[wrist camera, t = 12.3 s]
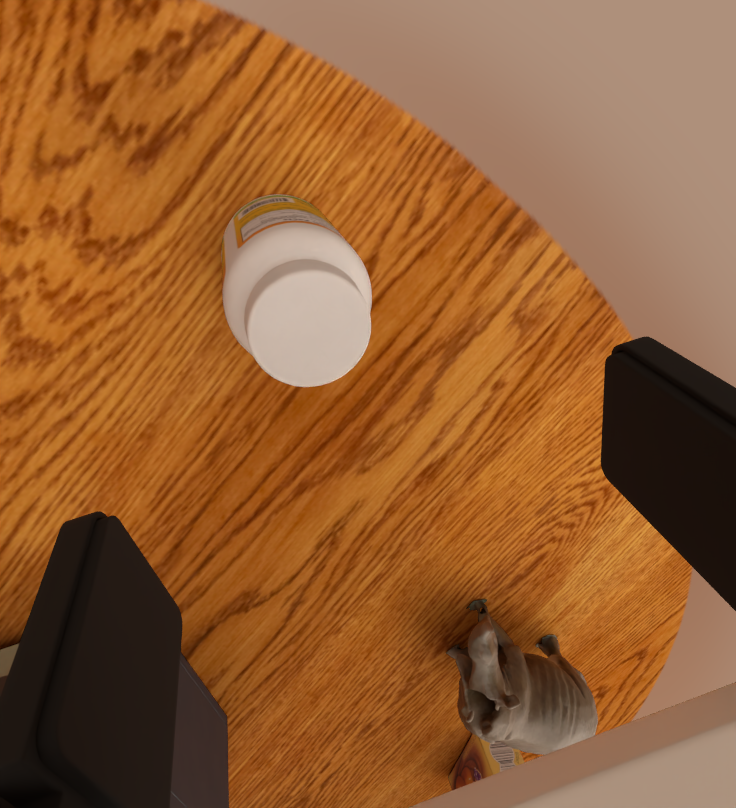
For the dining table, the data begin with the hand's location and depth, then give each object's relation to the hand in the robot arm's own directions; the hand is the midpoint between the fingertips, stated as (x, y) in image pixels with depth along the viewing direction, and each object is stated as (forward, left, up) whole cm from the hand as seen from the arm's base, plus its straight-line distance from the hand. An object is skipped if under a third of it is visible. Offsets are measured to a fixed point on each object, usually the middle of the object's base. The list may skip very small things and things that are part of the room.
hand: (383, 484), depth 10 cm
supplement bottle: (0, 0, -18) cm, 18 cm away
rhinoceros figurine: (-34, -7, -18) cm, 39 cm away
